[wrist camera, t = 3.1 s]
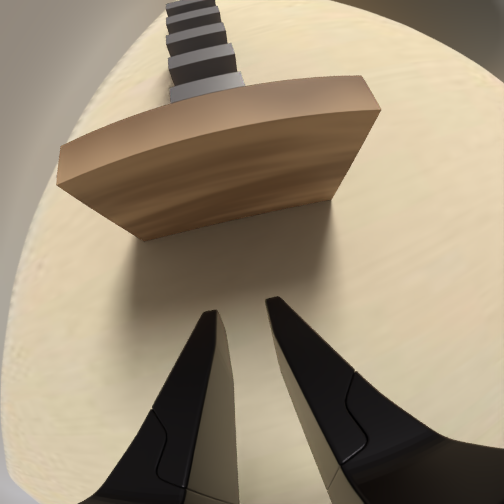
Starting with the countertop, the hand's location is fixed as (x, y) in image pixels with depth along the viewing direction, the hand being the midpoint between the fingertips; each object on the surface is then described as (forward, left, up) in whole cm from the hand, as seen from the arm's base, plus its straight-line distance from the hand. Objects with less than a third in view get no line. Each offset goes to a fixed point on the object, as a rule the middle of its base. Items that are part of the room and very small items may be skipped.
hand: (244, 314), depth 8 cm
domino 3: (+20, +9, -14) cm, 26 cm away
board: (+8, +4, -14) cm, 16 cm away
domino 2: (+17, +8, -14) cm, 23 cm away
